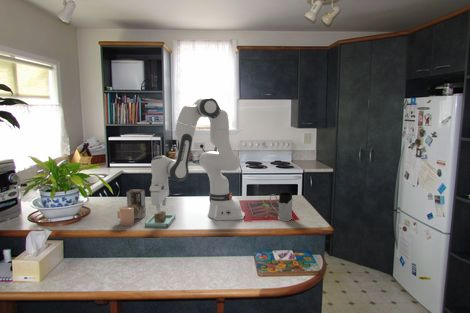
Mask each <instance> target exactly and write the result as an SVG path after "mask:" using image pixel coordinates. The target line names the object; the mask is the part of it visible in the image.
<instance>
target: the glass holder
mask: <svg viewBox="0 0 470 313" xmlns="http://www.w3.org/2000/svg"><path fill="white" fill-rule="evenodd" d="M278 195H279V196H278V198H277V195H276V194H270V196H269V203H270V206H271V207H272V208H273V210H275V212H276V213H277V214H278V216H277V219H278V220H279V221H282V222H290V221H289V220H291V219H292V220H293V193H291V192H280V193H279V194H278ZM272 196H274V197H275V200H276V203H278V210H277V209H276V208H275V207H274V206H273V203H272V201H271V200H272V199H271V197H272ZM292 220H291V221H292Z"/></svg>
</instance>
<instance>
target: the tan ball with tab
mask: <svg viewBox="0 0 470 313" xmlns="http://www.w3.org/2000/svg"><path fill="white" fill-rule="evenodd" d="M116 215H117V219H119V224H120V226H122V227H128V226H133V225H134V224H135V218H134V207H132V206H127V205H125V206H122V207H120V208H119V210H118V211H117V212H116Z"/></svg>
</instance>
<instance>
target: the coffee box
mask: <svg viewBox="0 0 470 313" xmlns="http://www.w3.org/2000/svg"><path fill="white" fill-rule="evenodd" d="M126 206H132V207H134V219H144V218H145V217H146V215H147V213H146V210H147V208H146V190H145V189H135V188H134V189H133V188H132V189H129V190H128V191H126Z"/></svg>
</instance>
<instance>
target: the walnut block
mask: <svg viewBox="0 0 470 313" xmlns="http://www.w3.org/2000/svg"><path fill="white" fill-rule="evenodd" d="M166 212H167V211H165V210H163V211H162V210H160V211H157V210H156V212H154V213H153V215H154V220H155V222H157V223H163V222H164V221H165V220H166V214H167V213H166Z"/></svg>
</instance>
